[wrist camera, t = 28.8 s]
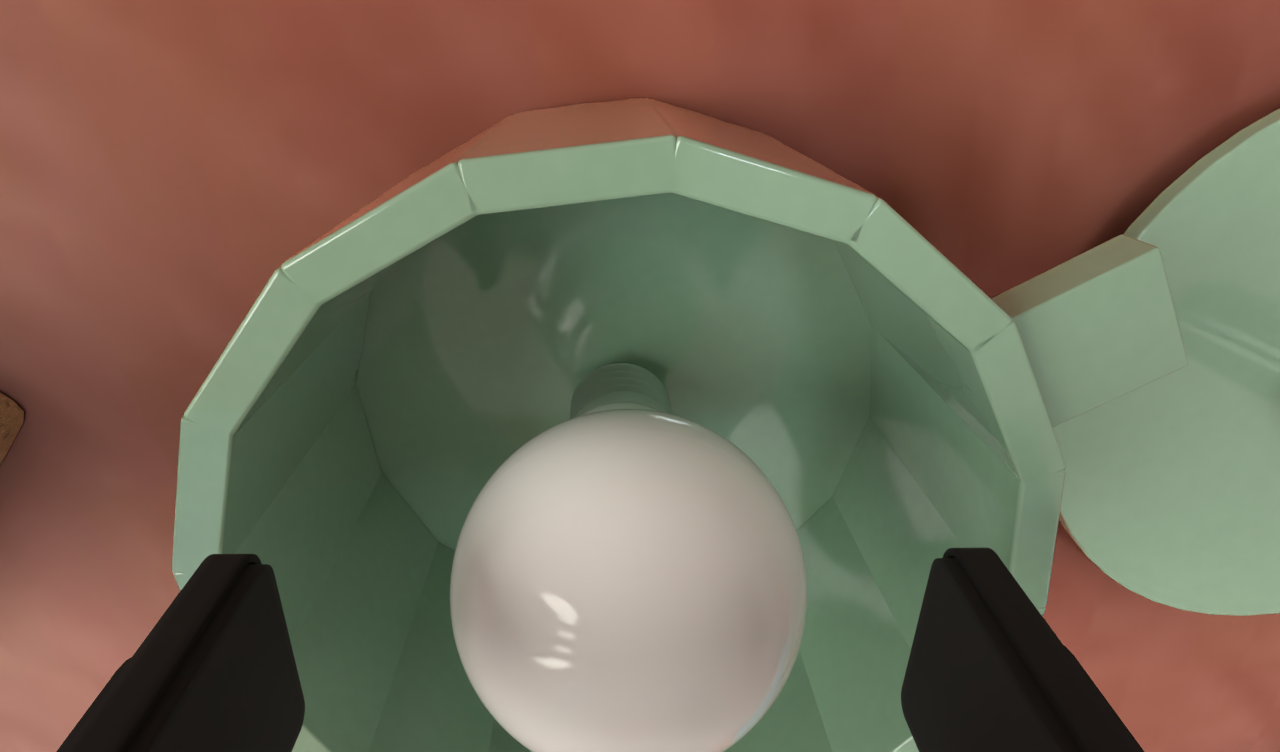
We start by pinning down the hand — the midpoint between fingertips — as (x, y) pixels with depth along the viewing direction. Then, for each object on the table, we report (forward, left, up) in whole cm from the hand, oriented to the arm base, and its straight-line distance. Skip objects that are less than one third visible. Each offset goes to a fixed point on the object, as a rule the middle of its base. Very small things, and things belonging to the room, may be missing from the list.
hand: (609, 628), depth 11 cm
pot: (+1, +1, -11) cm, 11 cm away
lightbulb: (+1, +1, -11) cm, 11 cm away
